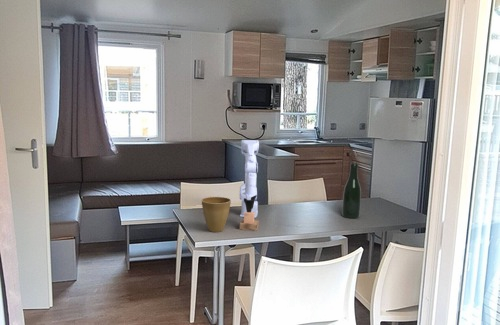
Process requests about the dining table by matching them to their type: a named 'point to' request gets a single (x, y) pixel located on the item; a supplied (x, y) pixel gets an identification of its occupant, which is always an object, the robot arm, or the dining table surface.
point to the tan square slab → (249, 225)
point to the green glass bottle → (352, 194)
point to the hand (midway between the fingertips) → (249, 210)
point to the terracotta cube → (249, 217)
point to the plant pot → (216, 212)
